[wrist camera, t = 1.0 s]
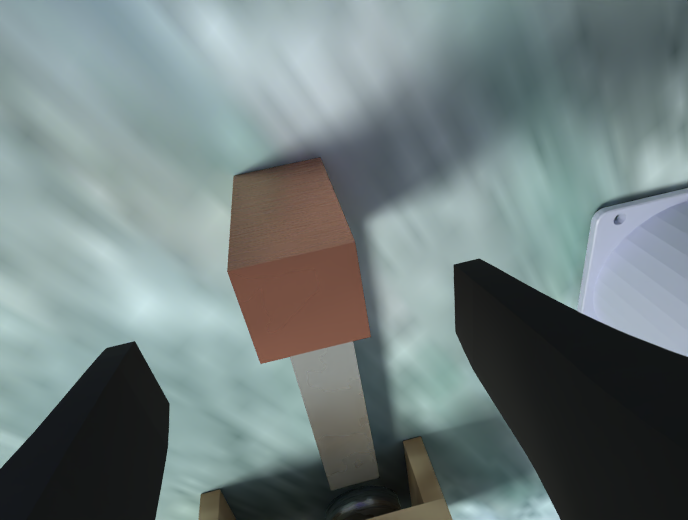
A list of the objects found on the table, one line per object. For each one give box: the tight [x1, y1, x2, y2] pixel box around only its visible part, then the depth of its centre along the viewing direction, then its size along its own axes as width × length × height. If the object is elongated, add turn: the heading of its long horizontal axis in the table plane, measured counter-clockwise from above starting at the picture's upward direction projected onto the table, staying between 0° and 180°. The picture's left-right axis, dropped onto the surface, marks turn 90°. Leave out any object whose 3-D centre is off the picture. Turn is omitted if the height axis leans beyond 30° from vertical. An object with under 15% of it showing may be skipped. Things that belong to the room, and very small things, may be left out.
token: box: [326, 486, 402, 520], centre depth 27 cm, size 4×4×2 cm
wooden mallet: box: [227, 157, 380, 490], centre depth 18 cm, size 3×17×6 cm, turn 9°
